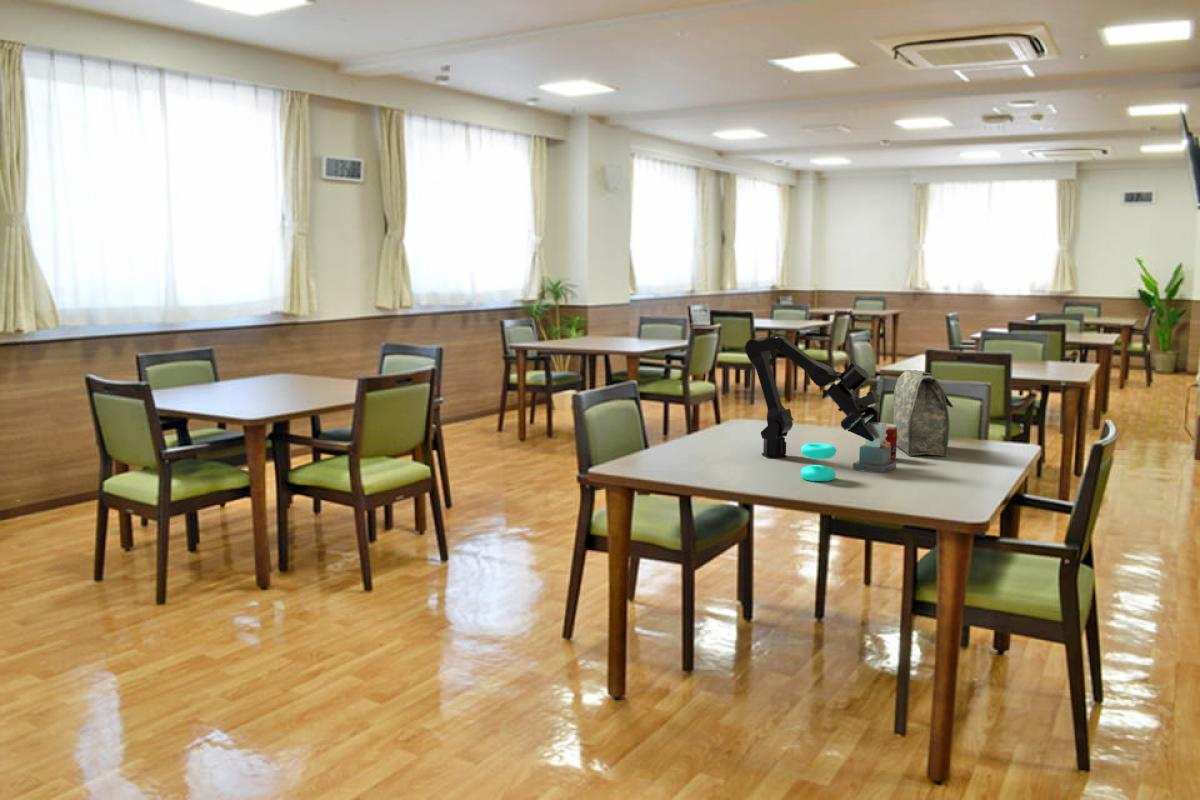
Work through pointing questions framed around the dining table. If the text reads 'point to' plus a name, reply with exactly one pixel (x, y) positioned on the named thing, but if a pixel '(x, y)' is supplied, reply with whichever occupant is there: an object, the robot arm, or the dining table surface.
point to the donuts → (818, 470)
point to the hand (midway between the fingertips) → (878, 438)
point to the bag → (921, 414)
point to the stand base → (875, 459)
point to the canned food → (892, 438)
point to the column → (877, 434)
